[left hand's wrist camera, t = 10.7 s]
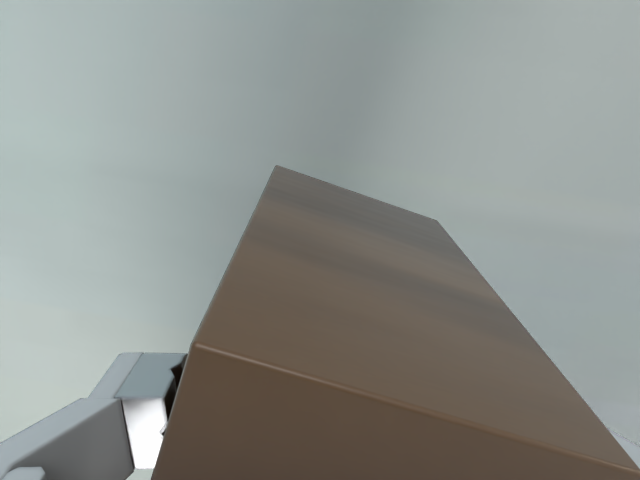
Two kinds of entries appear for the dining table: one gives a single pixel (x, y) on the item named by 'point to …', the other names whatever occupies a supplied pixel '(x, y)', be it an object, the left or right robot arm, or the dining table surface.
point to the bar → (369, 360)
